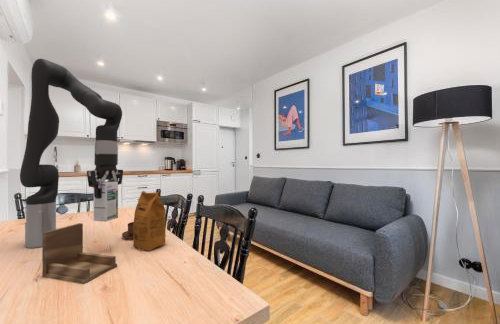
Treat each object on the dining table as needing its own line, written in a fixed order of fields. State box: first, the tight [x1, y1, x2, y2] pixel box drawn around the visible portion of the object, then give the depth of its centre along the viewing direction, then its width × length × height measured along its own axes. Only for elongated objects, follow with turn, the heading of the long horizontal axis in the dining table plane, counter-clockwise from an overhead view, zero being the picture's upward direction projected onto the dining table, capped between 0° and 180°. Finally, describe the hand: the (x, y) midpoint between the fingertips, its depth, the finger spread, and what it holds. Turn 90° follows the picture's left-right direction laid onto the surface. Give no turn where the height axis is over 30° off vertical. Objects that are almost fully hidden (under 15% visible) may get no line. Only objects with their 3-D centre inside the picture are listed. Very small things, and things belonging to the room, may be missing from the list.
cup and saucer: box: [121, 221, 134, 240], centre depth 104 cm, size 12×12×6 cm
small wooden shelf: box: [41, 222, 118, 285], centre depth 70 cm, size 16×11×13 cm
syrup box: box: [93, 180, 119, 222], centre depth 87 cm, size 6×6×14 cm
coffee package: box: [132, 190, 167, 251], centre depth 92 cm, size 10×12×22 cm
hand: (105, 196), depth 87 cm, fingers closed on syrup box, 6 cm apart
